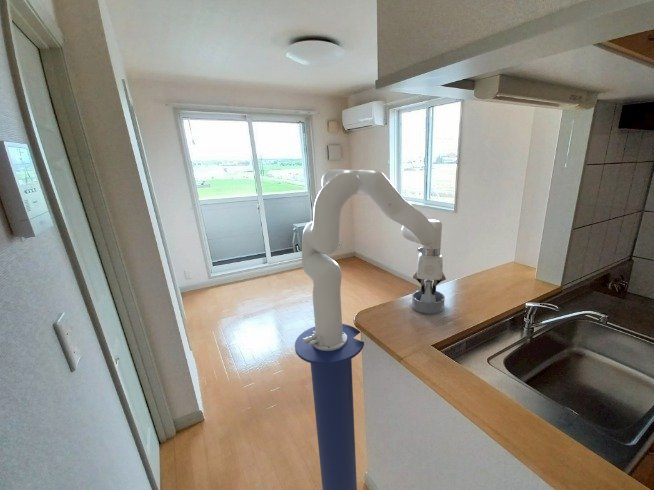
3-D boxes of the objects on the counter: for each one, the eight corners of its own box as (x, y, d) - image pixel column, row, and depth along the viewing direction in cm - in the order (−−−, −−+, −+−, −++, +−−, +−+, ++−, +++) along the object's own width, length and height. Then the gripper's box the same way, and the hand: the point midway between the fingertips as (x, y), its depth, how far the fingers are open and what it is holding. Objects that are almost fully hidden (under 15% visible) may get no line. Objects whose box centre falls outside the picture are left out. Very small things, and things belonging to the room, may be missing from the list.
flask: (416, 304, 131) (417, 282, 128) (423, 297, 137) (424, 276, 133) (432, 308, 127) (433, 285, 124) (439, 301, 133) (440, 280, 129)
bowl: (427, 317, 124) (428, 306, 122) (405, 305, 134) (405, 294, 132) (450, 308, 131) (451, 297, 129) (427, 297, 141) (428, 287, 140)
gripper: (409, 253, 122) (407, 295, 128) (452, 254, 119) (449, 298, 125) (410, 248, 129) (409, 288, 135) (451, 249, 126) (447, 290, 132)
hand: (428, 292), depth 130 cm, fingers closed on flask, 3 cm apart
